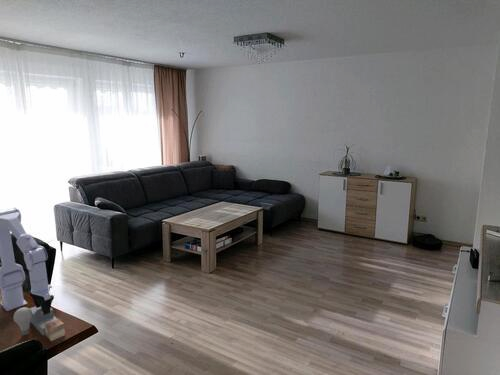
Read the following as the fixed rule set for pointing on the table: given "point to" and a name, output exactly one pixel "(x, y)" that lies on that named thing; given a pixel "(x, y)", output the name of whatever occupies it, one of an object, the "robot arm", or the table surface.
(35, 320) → the steps
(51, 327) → the birch cube
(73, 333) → the table surface
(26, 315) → the lightbulb
